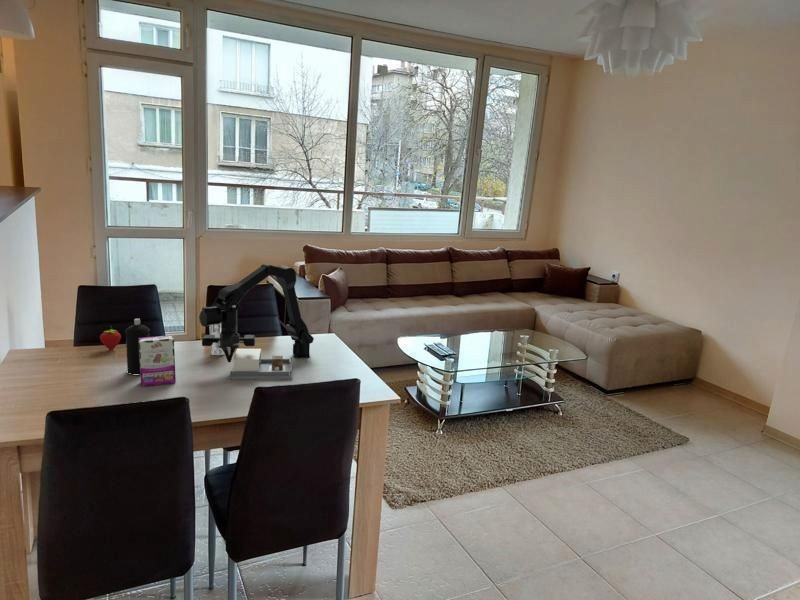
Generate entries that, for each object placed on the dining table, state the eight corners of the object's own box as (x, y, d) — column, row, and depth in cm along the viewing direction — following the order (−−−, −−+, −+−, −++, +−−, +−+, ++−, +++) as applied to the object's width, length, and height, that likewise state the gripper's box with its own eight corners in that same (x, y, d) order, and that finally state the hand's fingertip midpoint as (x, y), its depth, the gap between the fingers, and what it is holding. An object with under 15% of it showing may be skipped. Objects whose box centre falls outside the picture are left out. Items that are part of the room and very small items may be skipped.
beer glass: (221, 357, 217) (221, 321, 214) (206, 355, 218) (205, 319, 215) (230, 352, 224) (230, 317, 220) (215, 350, 225) (215, 315, 222)
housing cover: (260, 362, 210) (261, 348, 208) (258, 373, 197) (258, 359, 196) (237, 362, 208) (237, 348, 206) (233, 374, 196) (233, 359, 194)
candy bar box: (174, 378, 192) (173, 334, 188) (175, 383, 188) (174, 338, 184) (140, 382, 187) (138, 337, 183) (140, 387, 182) (138, 341, 179)
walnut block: (282, 366, 207) (282, 355, 206) (282, 370, 203) (282, 359, 202) (272, 366, 206) (272, 355, 205) (271, 370, 202) (271, 359, 202)
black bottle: (156, 370, 198) (154, 318, 194) (137, 377, 191) (135, 323, 186) (140, 366, 201) (138, 315, 197) (121, 372, 194) (119, 319, 189)
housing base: (291, 364, 214) (292, 357, 213) (291, 379, 198) (291, 371, 198) (234, 364, 209) (234, 356, 209) (230, 379, 194) (230, 371, 193)
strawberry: (100, 348, 217) (99, 325, 215) (121, 347, 221) (120, 323, 219) (100, 353, 212) (99, 328, 210) (121, 351, 216) (120, 327, 214)
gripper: (198, 328, 188) (199, 369, 191) (253, 328, 192) (253, 369, 195) (204, 319, 199) (204, 359, 202) (255, 320, 202) (255, 359, 206)
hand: (229, 362), depth 201 cm, fingers closed
